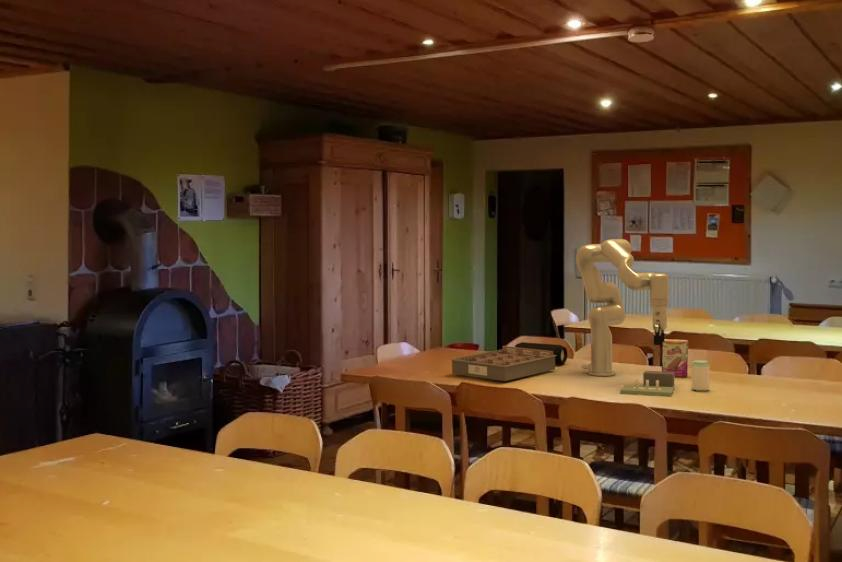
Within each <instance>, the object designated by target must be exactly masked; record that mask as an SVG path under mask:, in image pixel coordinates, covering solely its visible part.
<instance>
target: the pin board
mask: <svg viewBox="0 0 842 562" xmlns="http://www.w3.org/2000/svg"><path fill="white" fill-rule="evenodd" d="M673 391H675V386H673V387H661V386H659V380H656V386H649V380H646V386H643V384H642V385H641V384H640V380H639V379H638V378H636V379H635V385H634V384H624V385H623V386H622V387H621V388H620V389H619V393H620V394H621V395H623V394H624V395H637V394H646V395H645V396H654V395H662V396H661V397H672V396H671V395H673V394H672V393H674V392H673Z"/></svg>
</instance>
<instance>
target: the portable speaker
mask: <svg viewBox="0 0 842 562" xmlns="http://www.w3.org/2000/svg"><path fill="white" fill-rule="evenodd" d="M514 347H518V348H527V349H537V350H546V351H553V355H557V356H555V364H557V365H556V366H560V365H559V364H561V365H564V364H566V363H567V360H568V349H567V348H566V347H565V346H564V345H561V344H553V343H540V342H539V343H537V342H524V341H523V342H519V343H516V344H515V345H514Z"/></svg>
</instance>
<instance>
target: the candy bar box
mask: <svg viewBox="0 0 842 562" xmlns="http://www.w3.org/2000/svg"><path fill="white" fill-rule="evenodd" d="M688 362H689V340H687V339H670V338H667V339H666V338H664V342H662V345H661V372H674V378H688V375H689V374H688V373H689V371H688V370H689V369H688V367H689V363H688Z"/></svg>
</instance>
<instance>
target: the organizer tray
mask: <svg viewBox="0 0 842 562" xmlns="http://www.w3.org/2000/svg"><path fill="white" fill-rule="evenodd" d="M555 356H557V355H553V351H546V350H537V349H527V348H518V347H515V346H507V345H502V349H498V350H492V351H487V352H482V353H477V354H472V355H471V354H470V355H465V356H460V357H456V358H450V359H449V360H450V361H451V372H452V373H451V374H453V375H459V376H460V375H461V376H467V377H473V378H482V379H486V380H487V379H489V380H493V381H502V382H507V381H511V380H515V379H520V378H525V377H527V376H531V375H537V374H541V373H544V372H549V371H550V372H551V371H554V370H556V365H555Z"/></svg>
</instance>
